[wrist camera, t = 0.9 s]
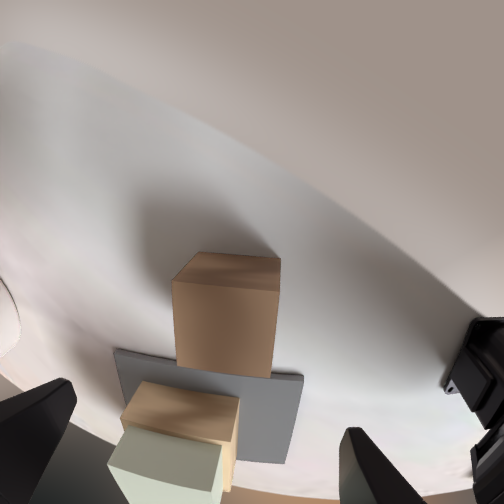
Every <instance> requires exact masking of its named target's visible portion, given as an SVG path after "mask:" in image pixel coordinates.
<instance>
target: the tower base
mask: <svg viewBox="0 0 504 504" xmlns="http://www.w3.org/2000/svg"><path fill="white" fill-rule="evenodd" d="M239 403H240V398H237V397H229V396H221V395H214V394H208V393H202V392H196V391H190V390H184V389H179V388H174V387H169V386H164V385H159V384H154V383H150V382H146V381H142V382H141V384H140V386H139V387H138V389H137V391H136V392H135V394H134V395H133V397H132V399H131V400H130V402H129V404H128V405H127V407H126V409H125V410H124V412H123V414H122V415H121V417H120V420H121V423H122V426H123V428H124V431H125V430H126V428H127V427H128V425H130V426H134V427H137V428H141V429H145V430H148V431H152V432H156V433H160V434H164V435H169V436H173V437H178V438H182V439H187V440H192V441H198V442H203V443H209V444H215V445H222V463H223V491H227V492H230V489H231V484H232V479H233V473H234V468H235V462H236V457H237V445H238V424H239Z"/></svg>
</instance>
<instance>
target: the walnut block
mask: <svg viewBox="0 0 504 504" xmlns="http://www.w3.org/2000/svg"><path fill="white" fill-rule="evenodd" d="M280 270H281V259H280V258H268V257H256V256H244V255H232V254H221V253H209V252H198V253H197V254H196V255H195V256H194V257H193V258H192V259H191V260H190V261H189V263H188V264H187V265H186V266H185V267H184V268H183V269H182V270H181V271H180V272H179V273H178V274H177V275H176V277H175V278H174V279H173V280H172V281H171V282H172V303H173V320H174V334H175V347H176V358H177V366H181V367H187V368H193V369H199V370H206V371H213V372H220V373H227V374H236V375H244V376H254V377H264V378H270V375H271V367H272V358H273V350H274V341H275V332H276V323H277V314H278V304H279V294H280Z"/></svg>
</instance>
